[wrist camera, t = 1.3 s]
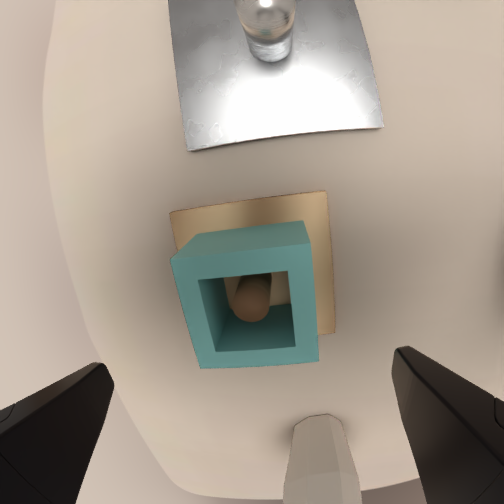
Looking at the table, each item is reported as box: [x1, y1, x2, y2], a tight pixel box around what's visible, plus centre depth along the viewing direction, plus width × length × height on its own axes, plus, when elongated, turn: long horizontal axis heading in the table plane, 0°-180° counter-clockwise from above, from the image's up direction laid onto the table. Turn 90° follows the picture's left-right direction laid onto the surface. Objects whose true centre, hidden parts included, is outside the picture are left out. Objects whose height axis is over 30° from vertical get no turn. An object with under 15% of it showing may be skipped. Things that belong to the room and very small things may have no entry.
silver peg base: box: [168, 0, 384, 151], centre depth 12 cm, size 12×12×7 cm
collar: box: [170, 220, 319, 368], centre depth 17 cm, size 7×7×5 cm
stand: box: [169, 191, 335, 335], centre depth 18 cm, size 10×10×5 cm
